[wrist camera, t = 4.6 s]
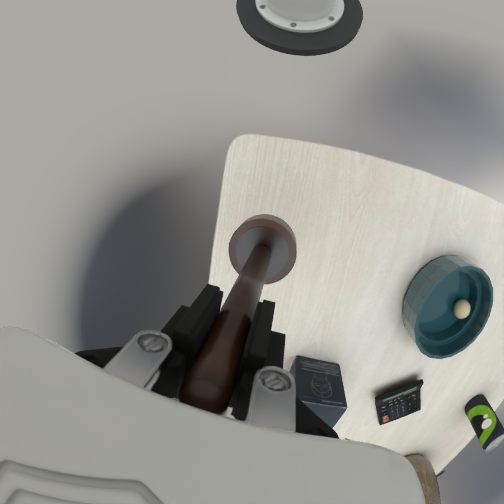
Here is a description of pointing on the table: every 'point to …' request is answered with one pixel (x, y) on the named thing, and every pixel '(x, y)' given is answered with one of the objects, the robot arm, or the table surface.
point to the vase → (426, 478)
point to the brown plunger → (238, 310)
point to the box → (320, 388)
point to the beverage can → (485, 422)
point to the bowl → (447, 306)
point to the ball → (462, 308)
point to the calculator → (399, 402)
